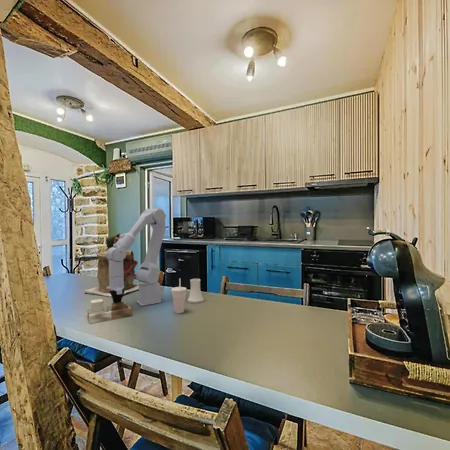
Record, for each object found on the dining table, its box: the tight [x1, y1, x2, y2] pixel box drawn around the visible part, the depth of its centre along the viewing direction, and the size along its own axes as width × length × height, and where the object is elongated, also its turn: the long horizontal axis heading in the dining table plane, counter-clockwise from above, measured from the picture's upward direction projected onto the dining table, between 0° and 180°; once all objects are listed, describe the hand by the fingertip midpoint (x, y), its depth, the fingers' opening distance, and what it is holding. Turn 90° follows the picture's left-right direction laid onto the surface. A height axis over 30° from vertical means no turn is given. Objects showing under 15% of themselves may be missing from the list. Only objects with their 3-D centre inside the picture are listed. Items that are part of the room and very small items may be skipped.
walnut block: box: [111, 301, 125, 311], centre depth 113 cm, size 4×4×4 cm
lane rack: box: [86, 302, 133, 325], centre depth 111 cm, size 15×10×3 cm, turn 120°
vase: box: [187, 278, 205, 304], centre depth 129 cm, size 8×8×10 cm
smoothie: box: [170, 278, 188, 314], centre depth 114 cm, size 6×6×14 cm
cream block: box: [90, 298, 104, 313], centre depth 118 cm, size 4×4×4 cm
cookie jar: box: [83, 231, 139, 298], centre depth 151 cm, size 25×25×32 cm
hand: (117, 307), depth 116 cm, fingers closed
